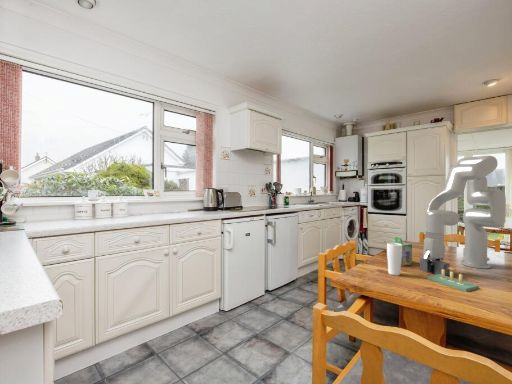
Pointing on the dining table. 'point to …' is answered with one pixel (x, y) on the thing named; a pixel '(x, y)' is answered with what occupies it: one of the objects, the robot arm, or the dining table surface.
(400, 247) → the white cup
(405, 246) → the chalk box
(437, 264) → the block
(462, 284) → the header strip
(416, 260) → the dining table surface
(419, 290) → the dining table surface
